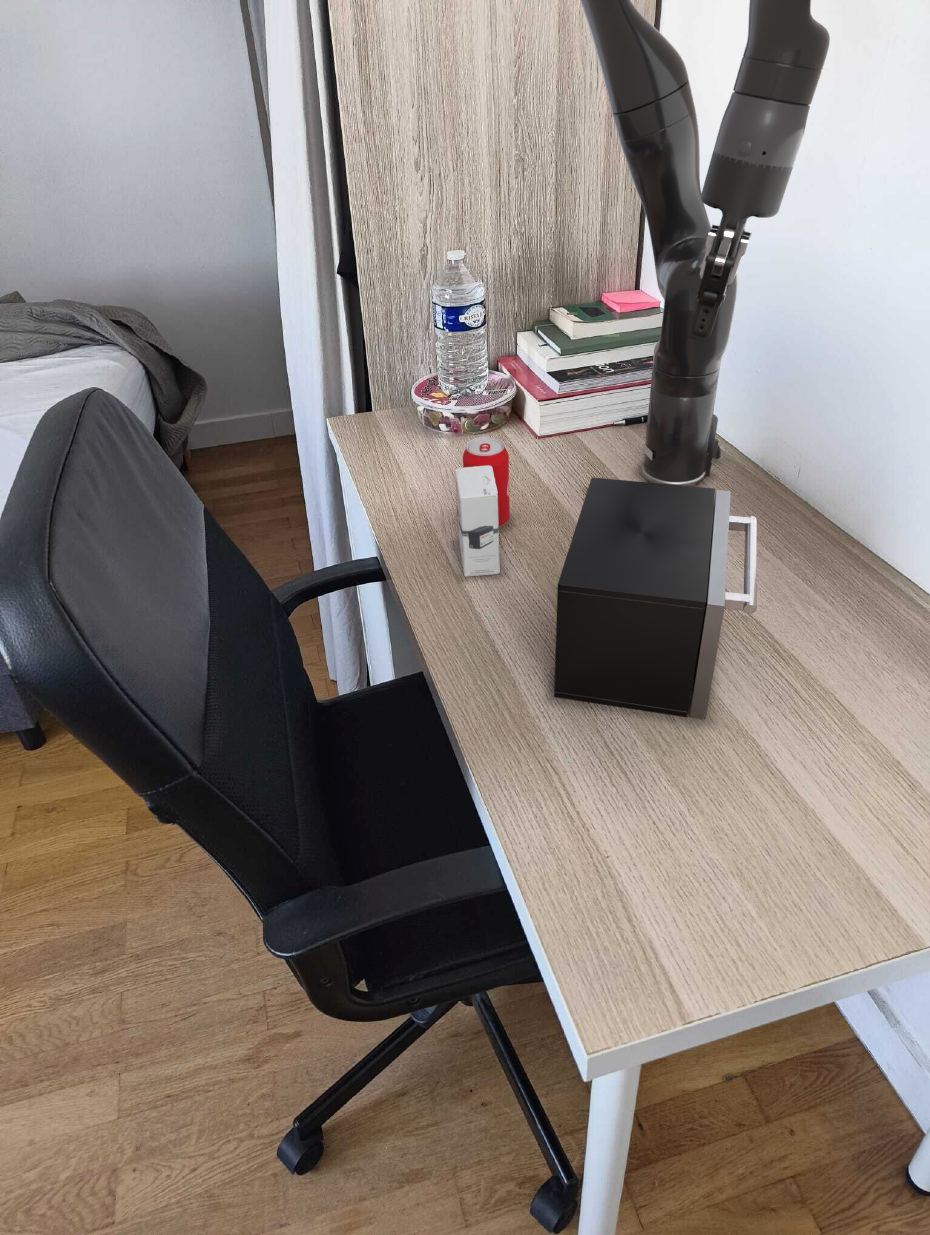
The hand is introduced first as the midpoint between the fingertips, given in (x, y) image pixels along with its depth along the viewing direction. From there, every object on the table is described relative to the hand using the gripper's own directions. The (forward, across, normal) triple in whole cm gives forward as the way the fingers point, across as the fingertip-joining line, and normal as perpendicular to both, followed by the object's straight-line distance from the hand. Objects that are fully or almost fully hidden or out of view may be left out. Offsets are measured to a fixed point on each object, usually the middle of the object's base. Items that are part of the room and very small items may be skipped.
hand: (698, 337), depth 89 cm
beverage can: (+34, +9, +21) cm, 41 cm away
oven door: (+30, -12, -13) cm, 34 cm away
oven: (+32, -12, -3) cm, 34 cm away
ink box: (+35, 0, +19) cm, 40 cm away
